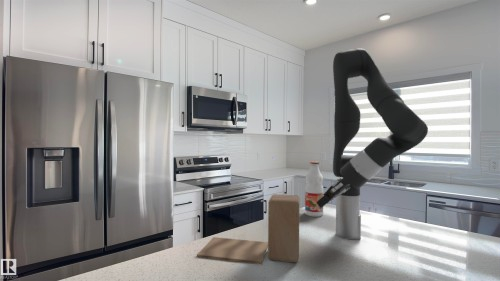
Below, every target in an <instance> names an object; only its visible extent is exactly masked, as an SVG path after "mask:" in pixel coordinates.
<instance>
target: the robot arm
mask: <svg viewBox="0 0 500 281" xmlns="http://www.w3.org/2000/svg"><path fill="white" fill-rule="evenodd" d="M332 62H333V64H332V71H333V72H332V74H333V85H334V87H333V88H334V112H333V113H334V116H333V119H334V120H333V123H334V124H333V127H334V128H333V131H334V136H333V137H334V144H333V146H334V148H333V157H332V172H333V175H334V177H336V178H337V179H336V180H334V182H333V184H331V185H330V186H329V187H328V188H327V190H326V191H325V192H323V197H322V198H321V199H319V200H318V201H317V204H318V206H319V207H320V208H322V207H323V208H324V206H326V205H327V204H328V203H329V202H331V201H333V200H334V199H335V208H336V209H335V235H336V236H337V237H339V238H342V239H346V240H358V239H359V240H360V239H361V237H362V236H361V234H362V232H361V231H362V227H361V226H362V224H361V222H362V216H361V213H360V212H361V188H362V187H363V186H364V185H365V184H367V182H369V181H370V180H371V179H373V178H374V177H375V176H376V175H377V174H379V172H380V171H381V170H382V169H383V168H385V167H386V166H387V165H388V164H389V163H390V162H391V161H392V160H393V159H395V158H396V157H398V156H401V155H402V154H404V153H406V152H408V151H409V150H411V149H413V148H414V147H416V146H418V145H419V144H420V143H422V142H423V141H424V140H425V138H426V137H427V135H428V131H429V128H428V124H426V123H425V121H423V119H422V118H421V117H419V116H418V115H417V114H416V113H415V112H414V111H413V110H412V109H411V108H410V107H409V106H408V105H407V104H406V103H405V102H404V100H403V99H402V97H400V95H399V94H398V93H397V92H396V91H395V90H394V88H392V87H391V86H390V85H389V83H388V82H387V81H386V79H385V78H384V76H383V74H382V73H381V70H380V69H379V67H378V66H377V64H376V63H375V61H374V59H373V58H372V56H371V55H370V53H369V52H368V51H367V50H366V49H364V48H354V49H348V50H347V49H346V50H343V51H338V52H337V53H335V55H334V57H333V61H332ZM359 77H362V78H364V79H365V80H366V81H367V86H366V96H367V100H368V102H369V104H370V105H371V107H373V109H374V110H375V111H376V113H377V114H378V115H379V116H380V117H381V118H382V121H383V122H384V124H385V126H386V128H387V129H388V130H389V131H390V132H391V134H389V135H388V136H386V137H381V136H380V137H377V138H376V137H375V139H373V140H372V141H371V142H370V143H369V144H368V145H367V146H366V147H365V148H363V149H362V150H361V151H359V152H358V153H356V154H355V155H349V154H348V155H343V154H344V151H345V149H346V148H347V146H348V145H349V144H350V142H351V141H352V140H354V138H355V137H356V135H357V134H358V132H359V131H360V129H361V127H360V126H361V109H360V108H359V106H358V105H357V103H356V102H355V100H354V99H353V98H352V96H351V94H350V92H349V86H348V84H349V82H348V81H349V79H352V78H359Z"/></svg>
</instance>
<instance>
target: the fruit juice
mask: <svg viewBox="0 0 500 281" xmlns="http://www.w3.org/2000/svg"><path fill="white" fill-rule="evenodd" d="M319 165H320V161H314V160H313V161H311V160H310V161H309V170H308V172H307V174H305V183H306V184H305V185H304V187H305V188H304V213H305V215H307V216H309V217H314V218H315V217H316V218H318V217H322V216H323V215H324V206H323V207H322V208H320V207H319V206H318V204H317V201H318V200H319V199H321V198H322V197H323V196H324V195H323V194H324V186H323V183H324V177H323V174H322V173H321V171H320V167H319Z"/></svg>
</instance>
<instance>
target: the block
mask: <svg viewBox="0 0 500 281" xmlns="http://www.w3.org/2000/svg"><path fill="white" fill-rule="evenodd" d="M300 200H301V199H300V196H299V195H292V194H272V195H271V196H270V198H269V201H268V208H267V209H268V211H267V212H268V214H267V226H268V228H267V235H268V236H267V242H268V248H267V257H268V260H270V261H279V262H288V263H297V262H299V260H300V259H299V258H300V202H301V201H300Z"/></svg>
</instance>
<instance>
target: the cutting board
mask: <svg viewBox="0 0 500 281" xmlns="http://www.w3.org/2000/svg"><path fill="white" fill-rule="evenodd" d="M267 251H268V241H257V240H250V239H249V240H248V239H247V240H245V239H236V238H228V237H227V238H226V237H217V236H216V237H215V236H213V237H212V238H211V239H210V240H209V242H207V243H206V245H204V247H203V248H202V249H200V251H199V252H197V253H196V258H204V259H212V260H220V261H230V262H237V263H246V264H247V263H248V264H253V265H254V264H256V265H262V264H263V260H264V258H265V255H266V252H267Z"/></svg>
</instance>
